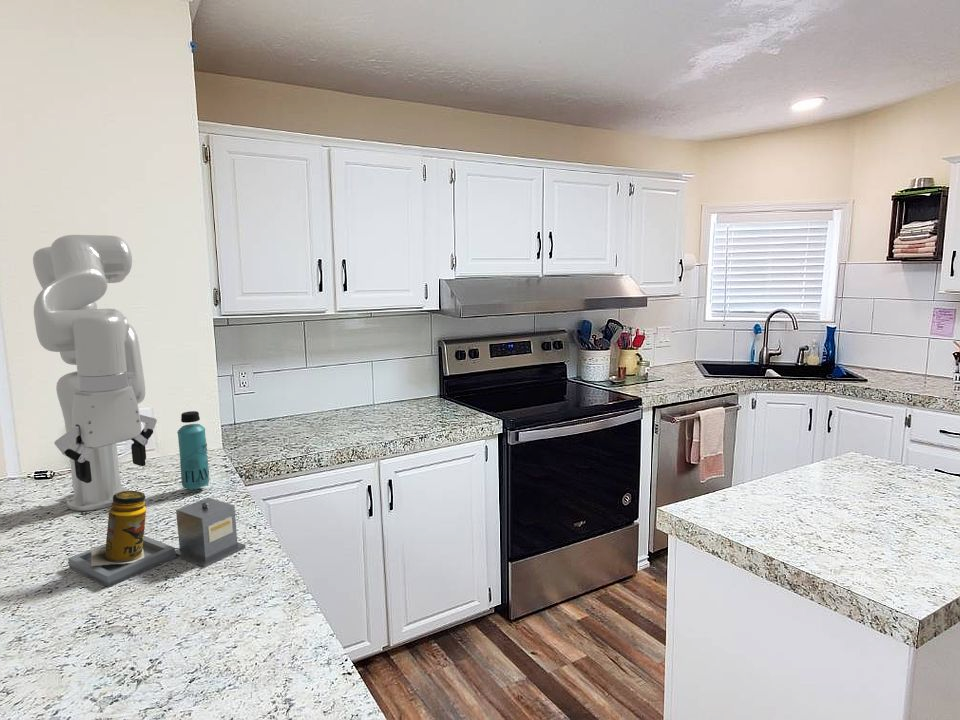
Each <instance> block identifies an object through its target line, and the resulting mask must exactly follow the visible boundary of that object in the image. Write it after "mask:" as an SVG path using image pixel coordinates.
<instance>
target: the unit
mask: <svg viewBox="0 0 960 720" xmlns="http://www.w3.org/2000/svg"><path fill="white" fill-rule="evenodd" d="M235 507H236V506H235V505H234V504H231V503H227V502H225V501H222V500H217V499H214V498H212V497H207V498H203V499H202V500H199V501H196V502H193V503H190V504H188V505H185V506H183V507H180V508H177V509H175V514H176V525H177V535H178V546H179V548H177V549H175V553H176V558H179V559H182V560H184V561H187V562H190V563H193V564H195V565H197V566H200V567H203V568H206V567H208V566H210V565H212V564H214V563H216V562H219V561H220V560H223V559H225V558H227V557H230V556H231V555H233V554H235V553H237V552H240V551H242V550H244V549H245V548H246V544H243V543H241V542H239V541H238V536H237V535H238V532H237V522H236V521H237V519H236V508H235Z"/></svg>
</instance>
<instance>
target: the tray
mask: <svg viewBox="0 0 960 720" xmlns="http://www.w3.org/2000/svg"><path fill="white" fill-rule="evenodd" d="M92 549H106V543H104V544H101V545H99V546H96V547H94V548H91V549H89V550H86V551H83V552H80V553H78V554H74V555H73V556H70V557H68V558H67V562H68V567H69V569H70V570H72V571H74V572H76V573H78V574H80V575H83V576H85V577H86V578H88V579H91V580H92V581H94V582H97V583H99V584H100V585H103V586H105V587H107V588H110V587H113V586H115V585H118V584H119V583H122V582H124V581H126V580H128V579H130V578H133V577H135V576H138V575H139V574H142V573H144V572H146V571H149V570H151V569H153V568H155V567H157V566H160V565H162V564H164V563H166V562H169V561H171V560H174V559H176V558H177V556H176V553H175V550H176V547H175V546H172V545H169V544H167V543H164V542H162V541H158V540H156V539H154V538H152V537H148V536H145V535H144V537H143V551H144V557H145V558H142V559H140V560H138V561H135V562H133V563H124V564H110V565H101V566H91V552H92V551H91V550H92Z"/></svg>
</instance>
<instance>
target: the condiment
mask: <svg viewBox="0 0 960 720" xmlns="http://www.w3.org/2000/svg"><path fill="white" fill-rule="evenodd" d="M145 501H146V495H145V493H144V492H142V491H137V490H129V491H122V492H119V493H116V494H115V495H114V496H113V502H112V506H111V507H110V509H109V510H108V517H107V518H108V521H107V529H106V530H107V531H106V539H105V544H106V549H93V548H91V549H92V550H91V549H90V550H91V551H92V552H91V566H101V565H110V564H124V563H133V562H135V561H138V560H140V559H142V558H145V557H144V551H143V537H144V536H145V535H144V534H145V526H146V525H145V524H146V517H147V516H146V515H147V508H146V506H145V504H146V502H145Z"/></svg>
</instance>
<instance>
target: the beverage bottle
mask: <svg viewBox="0 0 960 720" xmlns="http://www.w3.org/2000/svg"><path fill="white" fill-rule="evenodd" d="M200 418H201V417H200V413H199V411H195V410H191V411H184V412H182V413H181V414H180V422H181V423H186V424H183V426H181V427H180V428H179V429H178V430H177V432H176V433H177V437H178V438H177V439H178V441H177V442H178V452H179V463H180V465H179V467H180V479H181V485H182V488H183V489H187V490H188V489H189V490H193V489H199V488H204V487H205V486H208V485H209V483H210V479H211V478H210V470H209V458H208V443H207V438H206V428H205V427H204V426H203V425H201V424H199V423H196V422H199V421H200V420H201V419H200ZM194 422H195V423H194ZM187 423H188V424H187Z"/></svg>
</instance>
